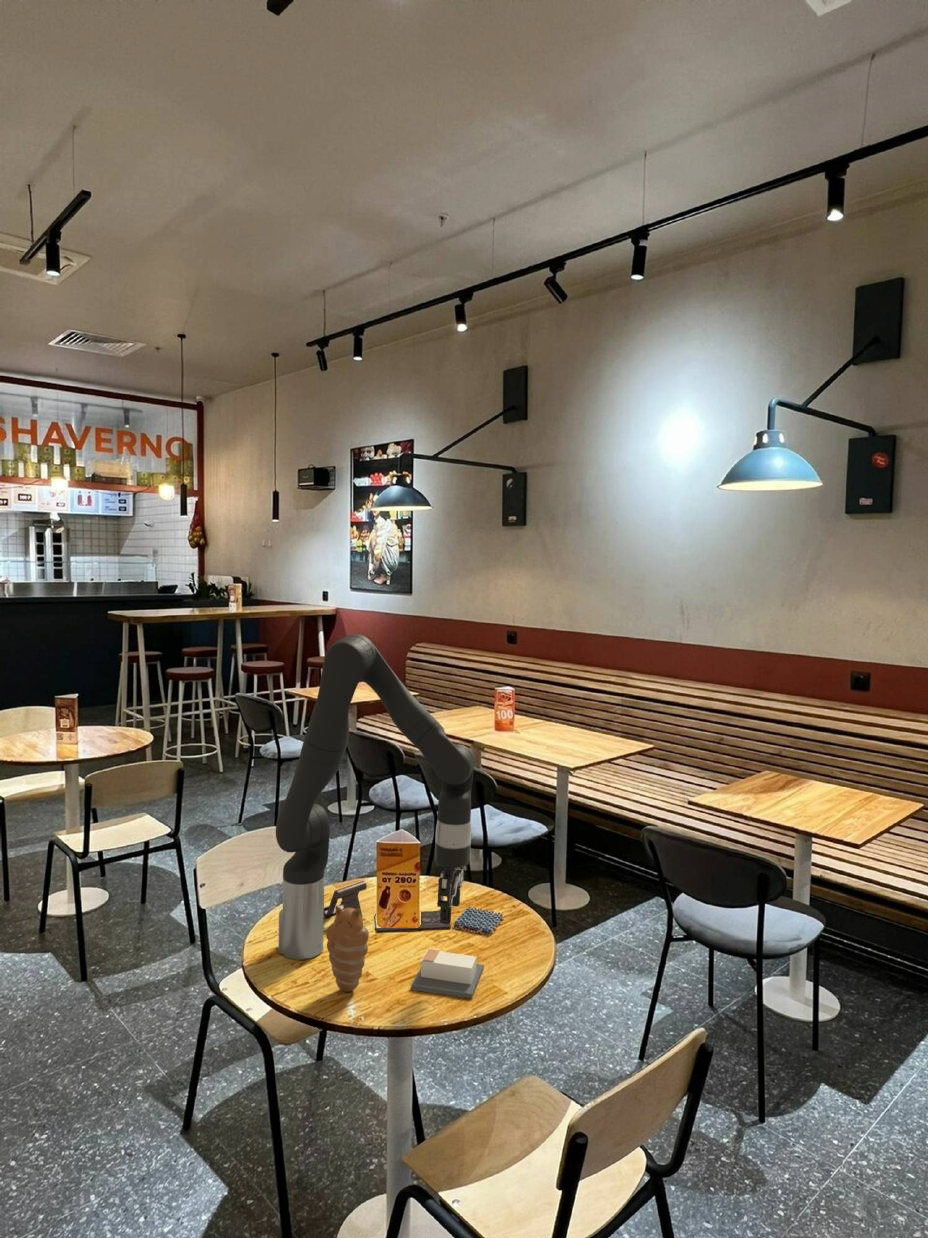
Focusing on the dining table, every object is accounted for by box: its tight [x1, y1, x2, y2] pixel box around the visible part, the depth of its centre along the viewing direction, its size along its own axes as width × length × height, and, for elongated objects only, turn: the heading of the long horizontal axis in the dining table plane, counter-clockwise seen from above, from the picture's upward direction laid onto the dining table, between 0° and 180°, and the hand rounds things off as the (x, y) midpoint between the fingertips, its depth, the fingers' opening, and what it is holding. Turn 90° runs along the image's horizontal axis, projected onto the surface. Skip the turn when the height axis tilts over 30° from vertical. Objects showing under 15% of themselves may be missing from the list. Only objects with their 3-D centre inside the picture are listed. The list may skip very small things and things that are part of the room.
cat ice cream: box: [325, 905, 370, 993], centre depth 158 cm, size 9×8×18 cm
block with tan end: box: [420, 948, 478, 984], centre depth 164 cm, size 11×5×4 cm, turn 77°
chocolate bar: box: [374, 910, 452, 934], centre depth 190 cm, size 9×1×18 cm
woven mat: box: [452, 906, 505, 937], centre depth 190 cm, size 10×11×2 cm
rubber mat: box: [410, 963, 485, 999], centre depth 164 cm, size 13×12×1 cm
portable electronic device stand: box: [324, 880, 368, 918], centre depth 193 cm, size 9×8×8 cm
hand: (450, 914), depth 164 cm, fingers open, 8 cm apart
